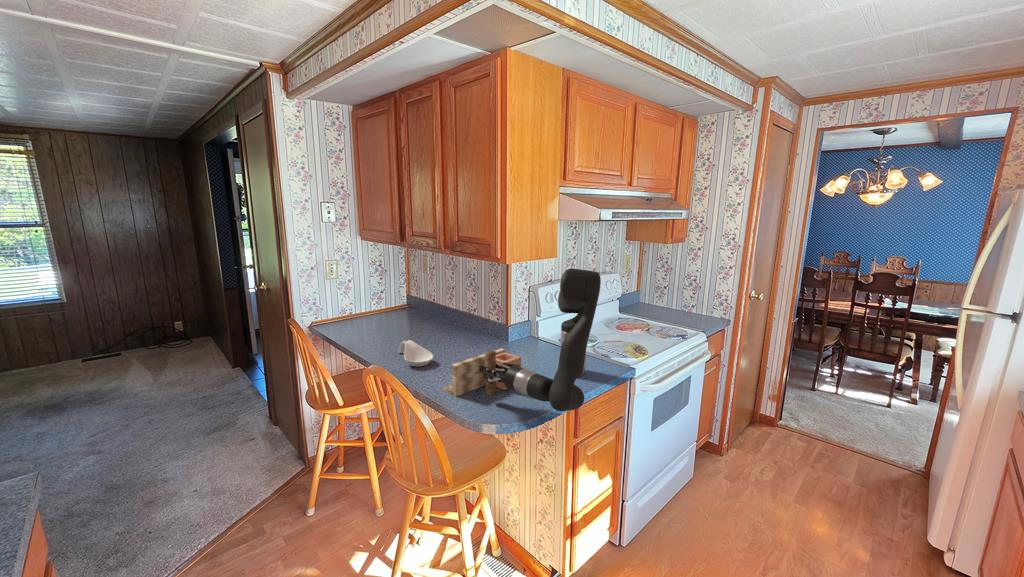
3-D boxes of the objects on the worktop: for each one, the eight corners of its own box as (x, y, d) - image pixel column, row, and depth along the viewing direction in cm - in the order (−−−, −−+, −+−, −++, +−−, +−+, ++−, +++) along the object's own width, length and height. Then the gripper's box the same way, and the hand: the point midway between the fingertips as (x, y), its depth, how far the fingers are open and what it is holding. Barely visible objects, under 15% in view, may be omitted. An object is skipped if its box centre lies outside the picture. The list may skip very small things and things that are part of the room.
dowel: (491, 389, 145) (490, 349, 142) (498, 392, 143) (498, 352, 140) (483, 392, 143) (482, 352, 140) (490, 396, 140) (490, 355, 138)
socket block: (504, 376, 164) (504, 351, 162) (520, 383, 158) (520, 357, 156) (488, 383, 158) (487, 357, 156) (504, 390, 152) (504, 363, 150)
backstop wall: (492, 372, 169) (492, 345, 167) (505, 376, 165) (505, 349, 163) (443, 390, 152) (442, 361, 150) (455, 396, 148) (455, 366, 146)
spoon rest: (438, 366, 177) (438, 349, 175) (411, 372, 170) (410, 355, 169) (415, 350, 196) (414, 335, 194) (389, 355, 189) (388, 340, 188)
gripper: (538, 363, 136) (499, 350, 147) (506, 376, 126) (467, 361, 137) (537, 385, 137) (499, 371, 149) (506, 400, 127) (468, 383, 139)
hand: (484, 366), depth 143 cm, fingers closed on dowel, 3 cm apart
